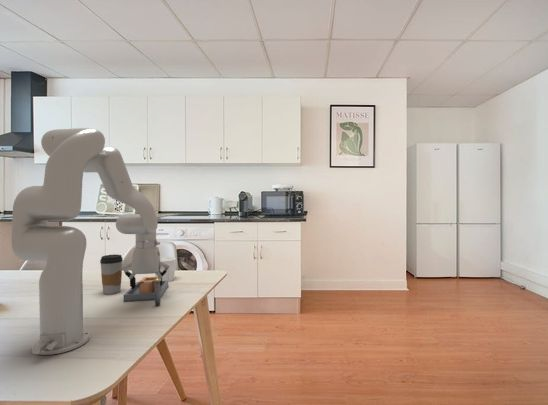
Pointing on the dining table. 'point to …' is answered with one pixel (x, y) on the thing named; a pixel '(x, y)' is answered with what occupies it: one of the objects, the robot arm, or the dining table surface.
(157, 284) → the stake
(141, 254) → the robot arm
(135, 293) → the tray
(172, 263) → the cup
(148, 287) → the orange flat handled frame
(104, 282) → the coffee cup
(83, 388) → the dining table surface
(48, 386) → the dining table surface
